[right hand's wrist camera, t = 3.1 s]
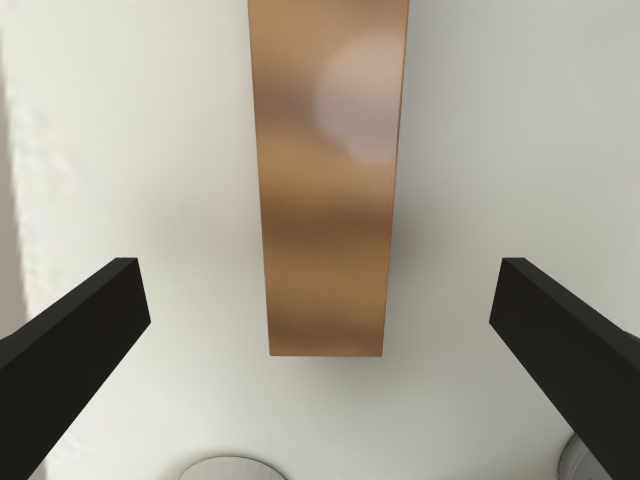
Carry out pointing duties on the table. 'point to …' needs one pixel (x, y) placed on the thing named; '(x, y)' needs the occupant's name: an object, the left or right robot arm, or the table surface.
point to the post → (327, 167)
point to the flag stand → (230, 470)
